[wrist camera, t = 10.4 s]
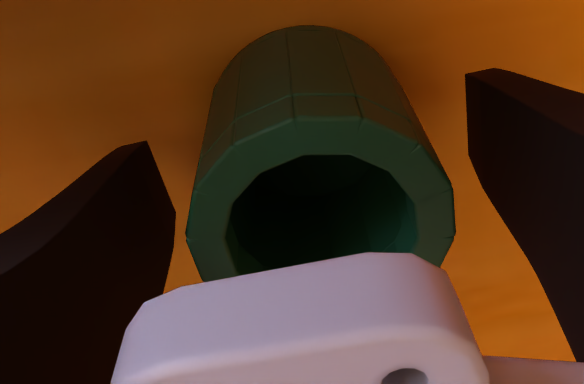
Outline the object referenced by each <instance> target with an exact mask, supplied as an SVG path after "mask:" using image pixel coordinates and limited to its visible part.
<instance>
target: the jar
mask: <svg viewBox="0 0 584 384" xmlns="http://www.w3.org/2000/svg"><path fill="white" fill-rule="evenodd" d="M185 234H186V237H187V238H186V242H187V245H188V247H189V249H190V252H191V254H192V257H193V259H194V262H195V264H196V267H197V269H198V272H199V274H200V277H201V279H202V281H203V282H209V281H215V280H220V279H225V278H231V277H236V276H241V275H247V274H252V273H258V272H263V271H268V270H274V269H279V268H285V267H290V266H295V265H301V264H306V263H312V262H317V261H322V260H328V259H333V258H339V257H344V256H349V255H355V254H360V253H366V252H376V253H412V254H414V255H416V256H418V257H420V258H422V259H424V260H426V261H428V262H429V263H431V264H433V265H435V266H437V267H439V268H440V266H441V264H442V262H443V260H444V258H445V256H446V254H447V252H448V250H449V248H450V246H451V244H452V242H453V240H454V236H455V234H456V226H455V210H454V194H453V188H452V185H451V182H450V180H449V178H448V176H447V174H446V172H445V170H444V168H443V166H442V164H441V163H440V161H439V159H438V156H437V154H436V153H435V151H434V149H433V147H432V145H431V143H430V141H429V139H428V137H427V135H426V133H425V131H424V129H423V127H422V125H421V123H420V122H419V120H418V118H417V116H416V114H415V112H414V110H413V108H412V106H411V104H410V102H409V100H408V98H407V96H406V94H405V93H404V91H403V89H402V87H401V85H400V84H399V82H398V81H397V79H396V78H395V77H394V75H393V74H392V72H391V70H390V68H389V67H388V65H387V64H386V63H385V61H384V60H383V58H382V57H381V56H380V55H379V54H378V53H377V52H376V51H375V50H374V49H373V48H371V47H370V46H369V45H368V44H366V43H365V42H364V41H362V40H360V39H358V38H357V37H355V36H353V35H351V34H348V33H346V32H343V31H341V30H337V29H333V28H329V27H323V26H314V25H312V26H295V27H289V28H284V29H281V30H277V31H274V32H271V33H269V34H267V35H265V36H262V37H260V38H259V39H257V40H255V41H254V42H252V43H250V44H249V45H248V46H246V47H245V48H244V49H243V50H241V51H240V52H239V53H238V54H237V55H236V56H235V57H234V58H233V59H232V60H231V62H230V63H229V64H228V66H227V67H226V69H225V70H224V71H223V73H222V75H221V77H220V79H219V81H218V83H217V84H216V85H215V88H214V91H213V96H212V100H211V105H210V110H209V115H208V120H207V124H206V129H205V134H204V139H203V143H202V148H201V153H200V158H199V163H198V168H197V173H196V177H195V182H194V187H193V192H192V197H191V203H190V209H189V215H188V220H187V226H186V232H185Z"/></svg>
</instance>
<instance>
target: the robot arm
mask: <svg viewBox="0 0 584 384" xmlns="http://www.w3.org/2000/svg"><path fill="white" fill-rule="evenodd" d="M465 85H466V108H467V132H468V155H469V157H470V160H471V162H472V165H473V167H474V169H475V172H476V174H477V176H478V179H479V181H480V183H481V185H482V188H483V189H484V191H485V193H486V194H487V196H488V198H489V199H490V201H491V202H492V204H493V206H494V207H495V209H496V210H497V212H498V213H499V215H500V217H501V218H502V220H503V221H504V223H505V224H506V226H507V227H508V229H509V230H510V232H511V234H512V235H513V237H514V238H515V240H516V241H517V243H518V244H519V246H520V248H521V249H522V251H523V252H524V254H525V255H526V257H527V259H528V260H529V262H530V264H531V266H532V267H533V269H534V271H535V273H536V274H537V276H538V278H539V280H540V283H541V285H542V287H543V289H544V291H545V293H546V295H547V297H548V299H549V301H550V303H551V306H552V308H553V310H554V312H555V314H556V316H557V319H558V321H559V323H560V325H561V327H562V330H563V332H564V334H565V336H566V339H567V341H568V343H569V345H570V348H571V350H572V352H573V354H574V357H575V359H576V362H568V361H554V360H540V359H526V358H512V357H498V356H483V355H481V352H480V350H479V347H478V345H477V342H476V340H475V337H474V335H473V332H472V330H471V327H470V325H469V322H468V320H467V317H466V315H465V313H464V310H463V308H462V305H461V303H460V300H459V298H458V296H457V294H456V292H455V289H454V287H453V285H452V283H451V281H450V279H449V277H448V275H447V273H446V271H445V270H443V269H441V268H439V267H437V266H435V265H433V264H431V263H429V262H428V261H426V260H424V259H422V258H420V257H418V256H416V255H414V254H412V253H376V252H366V253H360V254H355V255H349V256H344V257H339V258H333V259H328V260H322V261H317V262H312V263H306V264H301V265H295V266H290V267H285V268H279V269H274V270H268V271H263V272H258V273H252V274H247V275H241V276H236V277H231V278H225V279H220V280H215V281H209V282H204V283H198V284H193V285H188V286H182V287H179V288H177V289H174V290H172V291H170V292H167V293H165V294H163V291H164V287H165V283H166V279H167V275H168V270H169V266H170V262H171V257H172V252H173V248H174V237H175V220H176V212H175V209H174V207H173V204H172V202H171V199H170V197H169V194H168V192H167V189H166V187H165V185H164V182H163V180H162V177H161V175H160V172H159V170H158V167H157V165H156V162H155V160H154V157H153V155H152V152H151V150H150V147H149V145H148V142H147V141H143V142H138V143H134V144H129V145H124V146H121V147H119V148H117V149H115V150H114V151H112V152H111V153H109V154H108V155H107V156H105V157H104V158H103V159H101V160H100V161H99V162H97V163H96V164H95V165H94V166H92V167H91V168H90V169H89V170H88V171H86V172H85V173H84V174H83V175H81V176H80V177H79V178H78V179H76V180H75V181H74V182H73V183H72V184H70V185H69V186H68V187H67V188H65V189H64V190H63V191H61V192H60V193H59V194H57V195H56V196H55V197H53V198H52V199H51V200H49V201H48V202H47V203H46V204H44V205H43V206H42V207H40V208H39V209H38V210H36V211H35V212H34V213H32V214H31V215H29V216H28V217H26V218H25V219H23V220H22V221H20V222H19V223H17V224H16V225H14V226H13V227H11V228H10V229H8V230H6V231H5V232H3V233H2V234H0V384H584V94H583V93H579V92H576V91H572V90H569V89H565V88H562V87H559V86H555V85H552V84H549V83H546V82H543V81H539V80H536V79H533V78H530V77H527V76H524V75H521V74H517V73H514V72H511V71H507V70H503V69H498V68H491V69H486V70H481V71H477V72H472V73H467V74H465Z"/></svg>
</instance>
